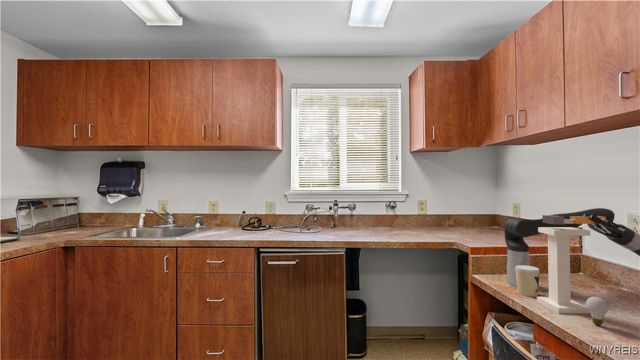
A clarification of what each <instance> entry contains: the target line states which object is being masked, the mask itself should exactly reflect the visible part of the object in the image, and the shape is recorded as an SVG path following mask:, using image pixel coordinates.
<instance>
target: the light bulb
mask: <svg viewBox="0 0 640 360" xmlns="http://www.w3.org/2000/svg"><path fill="white" fill-rule="evenodd" d="M585 304H586V305H585V306H586V307H587V308H588V309H589V311H590V314H591V318H592V319H591V320H592V323H593V324H594V325H595V326H597V325H598V327H599V326H602V325H603V322H604V321H603V320H604V317H605V315H606V314H607V313H608V312H609V309H610V308H609V304H608V303H607V301H606V300H604V298H601V297H600V296H591V297H588V298H587V299H586V302H585Z"/></svg>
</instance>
